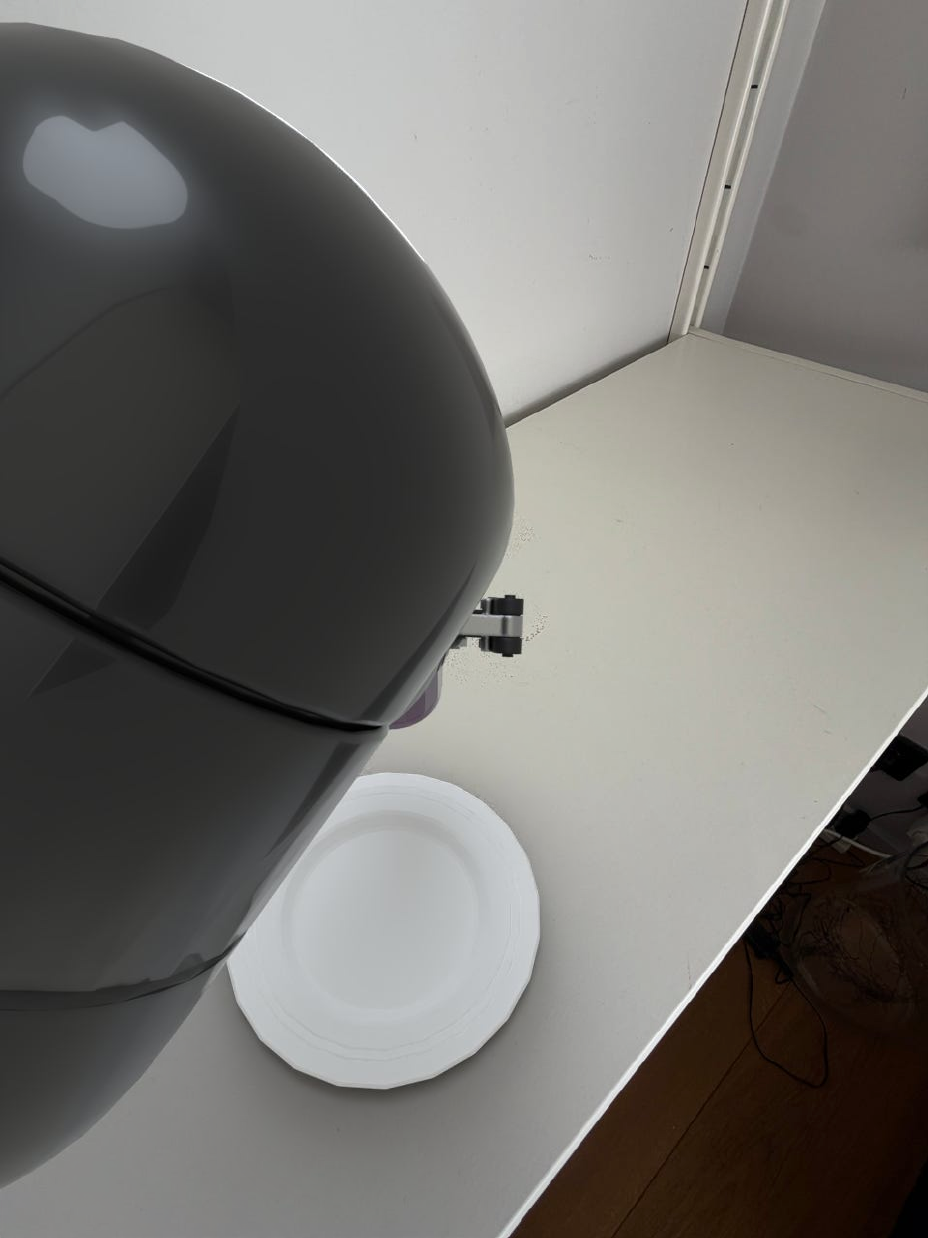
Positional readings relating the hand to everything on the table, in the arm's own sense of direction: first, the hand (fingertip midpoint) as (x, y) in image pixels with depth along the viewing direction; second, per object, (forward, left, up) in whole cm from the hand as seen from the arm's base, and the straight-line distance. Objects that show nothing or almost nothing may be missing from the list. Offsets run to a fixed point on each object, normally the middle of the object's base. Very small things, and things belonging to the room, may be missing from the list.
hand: (390, 619), depth 41 cm
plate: (-8, -3, -20) cm, 22 cm away
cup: (-2, -1, -4) cm, 5 cm away
